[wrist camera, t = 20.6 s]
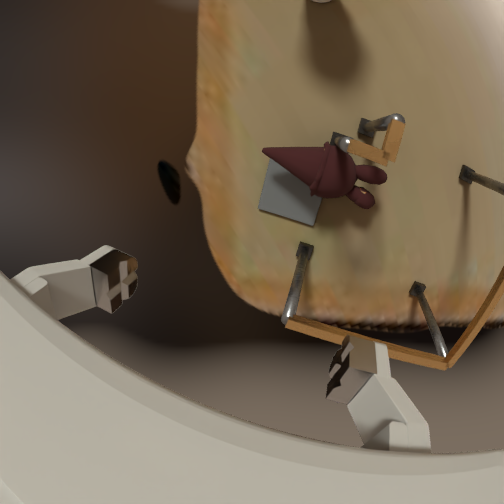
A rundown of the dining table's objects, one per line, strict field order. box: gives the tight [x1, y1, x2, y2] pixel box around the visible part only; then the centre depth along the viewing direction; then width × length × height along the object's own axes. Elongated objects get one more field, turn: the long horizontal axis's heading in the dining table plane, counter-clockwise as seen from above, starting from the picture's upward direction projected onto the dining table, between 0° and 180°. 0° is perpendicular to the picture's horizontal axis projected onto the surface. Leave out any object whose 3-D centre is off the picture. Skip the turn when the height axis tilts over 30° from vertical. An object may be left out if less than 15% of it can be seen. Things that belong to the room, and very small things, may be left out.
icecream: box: [262, 142, 387, 209], centre depth 30 cm, size 7×7×15 cm
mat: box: [258, 158, 322, 226], centre depth 36 cm, size 8×8×1 cm
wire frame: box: [281, 113, 504, 370], centre depth 26 cm, size 21×21×17 cm
